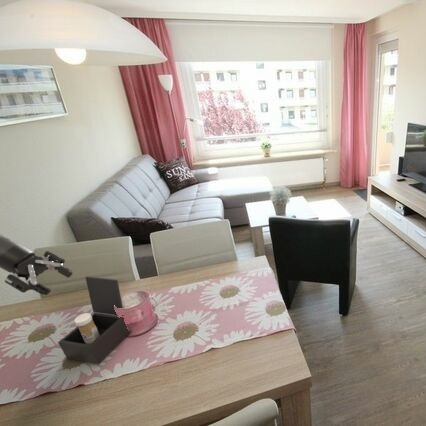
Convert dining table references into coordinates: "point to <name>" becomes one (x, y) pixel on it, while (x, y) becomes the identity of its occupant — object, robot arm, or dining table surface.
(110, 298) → the box lid
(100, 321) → the dark open box
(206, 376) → the dining table surface
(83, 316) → the sprinkles bottle
